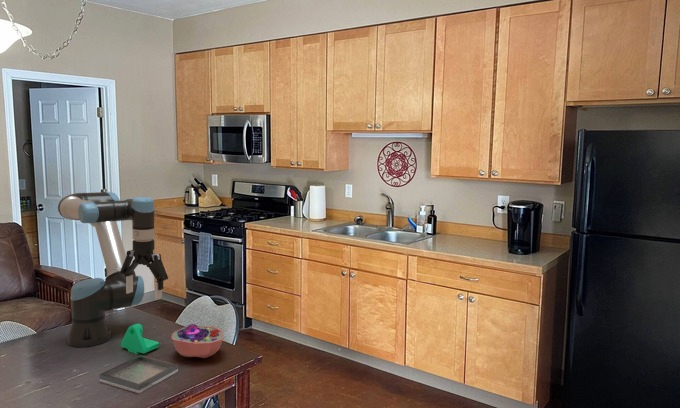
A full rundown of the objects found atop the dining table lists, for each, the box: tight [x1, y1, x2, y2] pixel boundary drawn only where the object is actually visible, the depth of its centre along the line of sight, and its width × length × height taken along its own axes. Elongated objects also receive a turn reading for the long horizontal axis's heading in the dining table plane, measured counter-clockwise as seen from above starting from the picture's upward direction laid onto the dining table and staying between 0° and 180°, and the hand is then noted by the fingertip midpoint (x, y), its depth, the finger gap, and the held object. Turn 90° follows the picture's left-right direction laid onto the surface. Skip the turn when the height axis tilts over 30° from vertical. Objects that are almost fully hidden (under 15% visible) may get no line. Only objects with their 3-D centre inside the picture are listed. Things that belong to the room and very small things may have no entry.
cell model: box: [170, 323, 224, 359], centre depth 181 cm, size 17×20×11 cm
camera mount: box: [120, 323, 160, 355], centre depth 186 cm, size 12×8×10 cm, turn 63°
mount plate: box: [99, 354, 179, 395], centre depth 164 cm, size 17×17×2 cm
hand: (144, 295), depth 185 cm, fingers open, 13 cm apart
